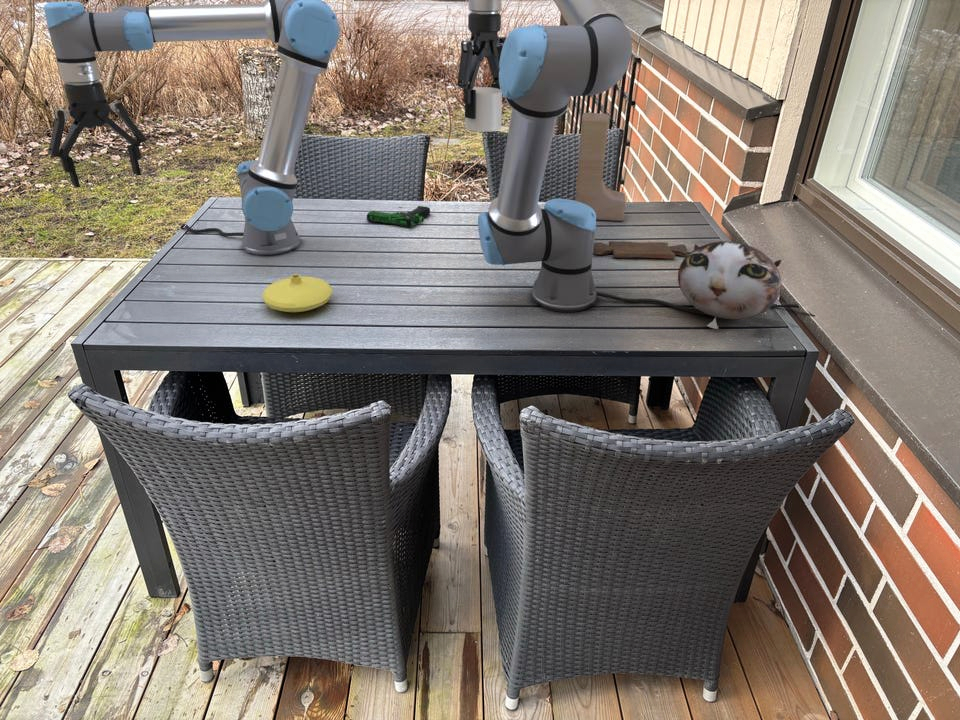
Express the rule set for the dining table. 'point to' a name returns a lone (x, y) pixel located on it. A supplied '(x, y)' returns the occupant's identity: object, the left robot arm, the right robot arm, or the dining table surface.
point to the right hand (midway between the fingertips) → (483, 114)
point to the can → (486, 110)
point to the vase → (297, 294)
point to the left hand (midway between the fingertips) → (107, 180)
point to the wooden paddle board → (640, 249)
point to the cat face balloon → (729, 280)
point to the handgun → (400, 217)
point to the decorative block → (596, 170)
